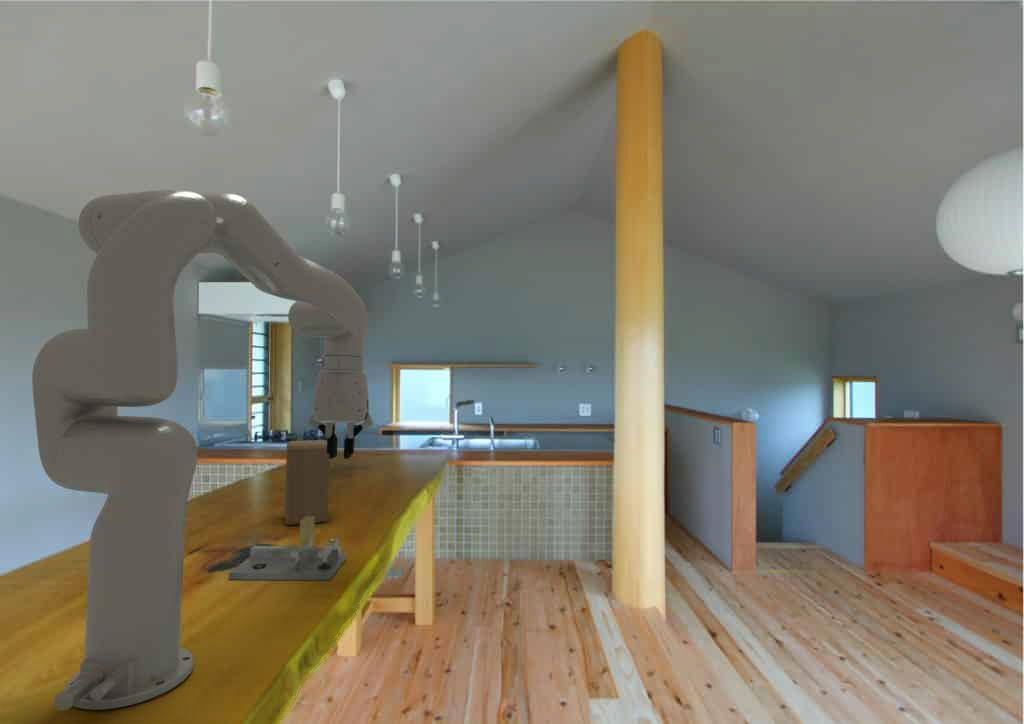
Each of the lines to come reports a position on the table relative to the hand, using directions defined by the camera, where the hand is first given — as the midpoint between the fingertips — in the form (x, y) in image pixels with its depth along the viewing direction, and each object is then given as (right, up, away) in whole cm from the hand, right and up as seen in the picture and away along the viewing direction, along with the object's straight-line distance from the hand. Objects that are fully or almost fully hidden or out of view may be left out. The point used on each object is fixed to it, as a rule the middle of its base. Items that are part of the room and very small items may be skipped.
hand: (340, 457), depth 108 cm
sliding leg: (-6, -19, -4) cm, 21 cm away
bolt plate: (-8, -21, -4) cm, 23 cm away
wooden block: (-19, -22, +32) cm, 43 cm away
